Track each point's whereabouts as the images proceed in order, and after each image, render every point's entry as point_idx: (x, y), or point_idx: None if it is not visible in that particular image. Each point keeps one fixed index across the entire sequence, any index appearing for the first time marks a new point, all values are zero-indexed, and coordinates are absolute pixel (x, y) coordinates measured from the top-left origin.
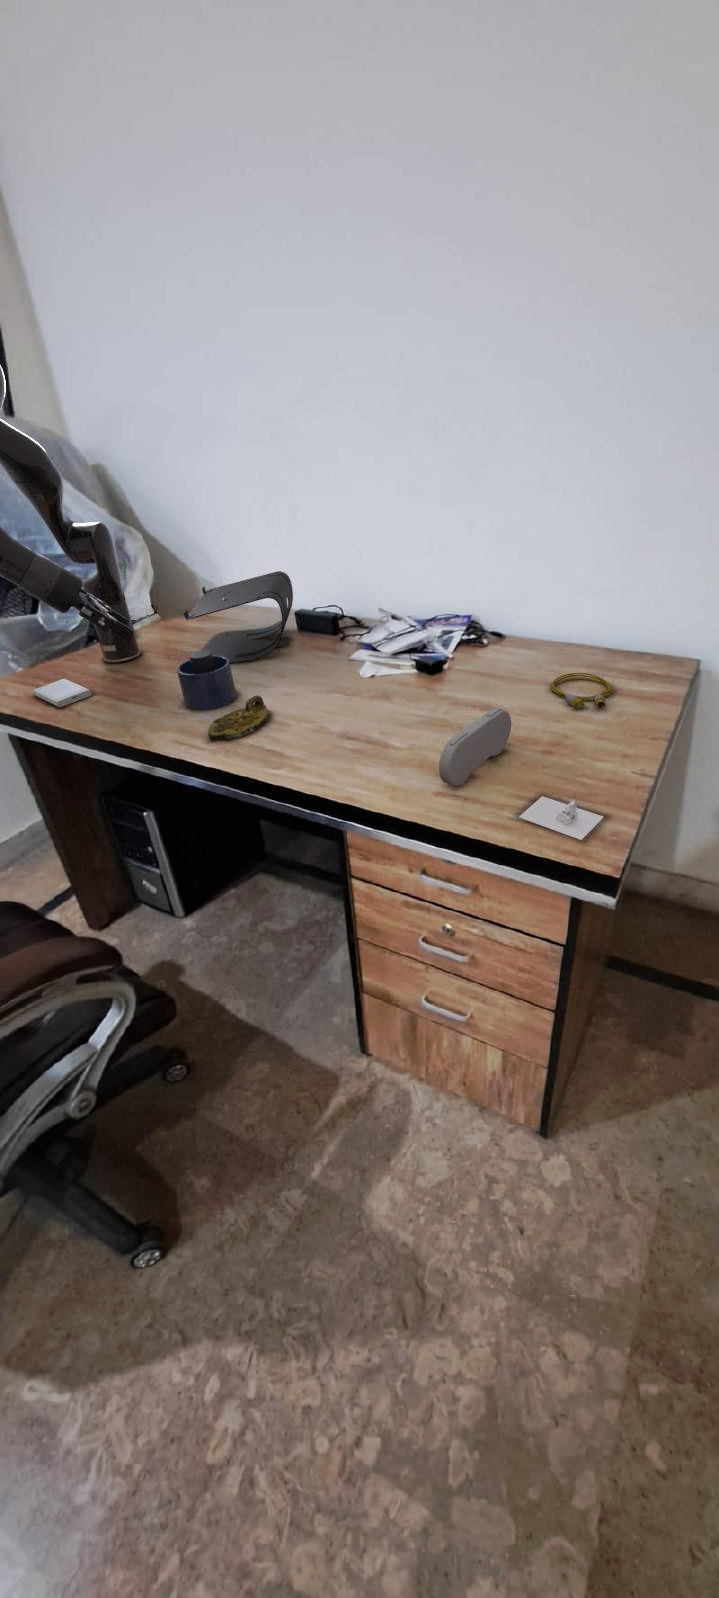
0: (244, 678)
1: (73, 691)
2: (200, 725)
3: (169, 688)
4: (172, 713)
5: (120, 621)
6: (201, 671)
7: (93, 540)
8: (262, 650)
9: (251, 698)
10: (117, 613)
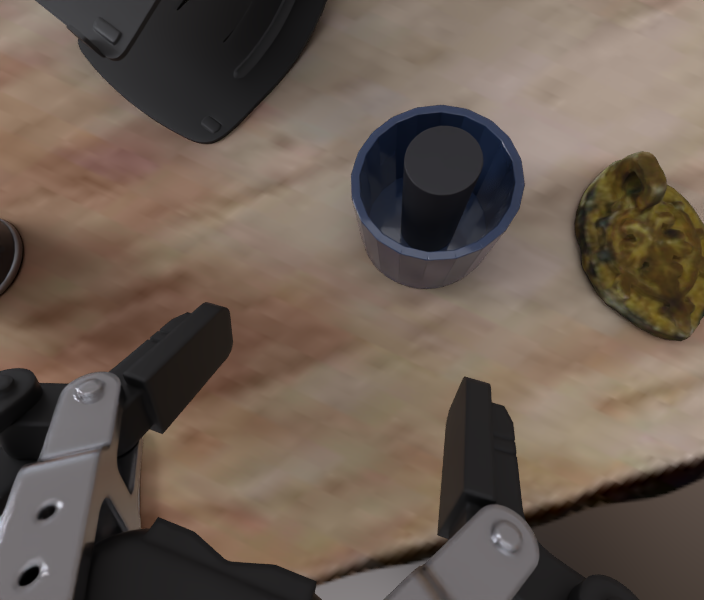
0: (373, 118)
1: None
2: (557, 316)
3: (274, 268)
4: (428, 332)
5: (210, 349)
6: (466, 203)
7: None
8: (283, 18)
9: (651, 175)
10: (171, 347)
